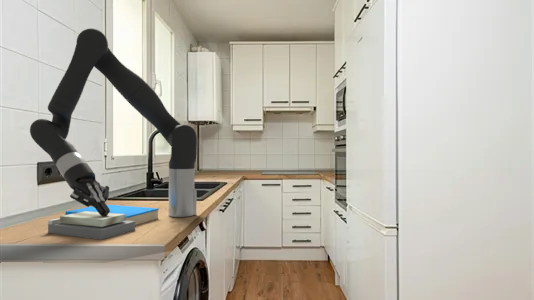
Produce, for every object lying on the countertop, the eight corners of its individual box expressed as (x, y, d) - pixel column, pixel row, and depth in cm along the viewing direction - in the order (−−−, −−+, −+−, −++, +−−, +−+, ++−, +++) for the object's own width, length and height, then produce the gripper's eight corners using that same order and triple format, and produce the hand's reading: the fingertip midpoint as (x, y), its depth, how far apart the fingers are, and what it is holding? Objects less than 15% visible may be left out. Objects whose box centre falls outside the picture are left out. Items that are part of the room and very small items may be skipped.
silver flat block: (85, 217, 112) (85, 211, 112) (125, 220, 106) (125, 214, 106) (59, 223, 104) (59, 216, 104) (101, 226, 98) (101, 219, 98)
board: (85, 224, 115) (85, 212, 115) (135, 229, 108) (135, 217, 108) (48, 232, 103) (48, 220, 103) (100, 239, 96) (101, 226, 96)
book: (102, 204, 134) (159, 207, 126) (102, 215, 134) (159, 219, 126) (63, 211, 118) (125, 215, 110) (63, 224, 118) (125, 229, 110)
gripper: (62, 162, 101) (94, 209, 96) (99, 161, 113) (130, 202, 108) (49, 180, 102) (80, 227, 98) (87, 177, 115) (116, 218, 110)
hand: (106, 214), depth 103 cm, fingers closed
